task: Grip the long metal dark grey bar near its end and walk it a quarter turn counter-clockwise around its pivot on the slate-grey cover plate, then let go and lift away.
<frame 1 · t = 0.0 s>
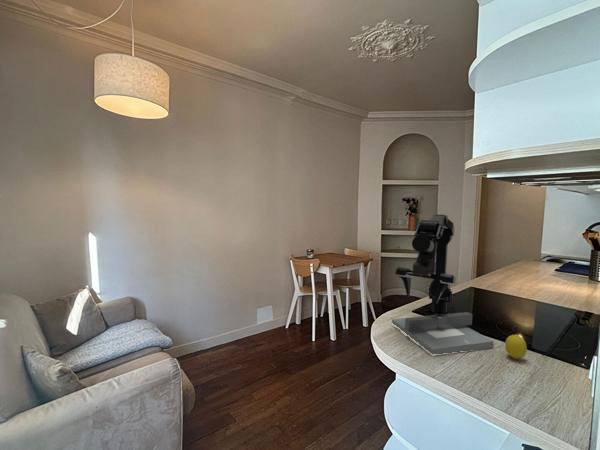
hand: (421, 300, 102), 15 cm above the worktop, tool pointing down, fingers open, 9 cm apart
dark grey bar: (439, 321, 109), point 5 cm above the worktop, hinge at 0.0°
cover plate: (438, 335, 110), on the worktop
lemon: (514, 359, 95), on the worktop
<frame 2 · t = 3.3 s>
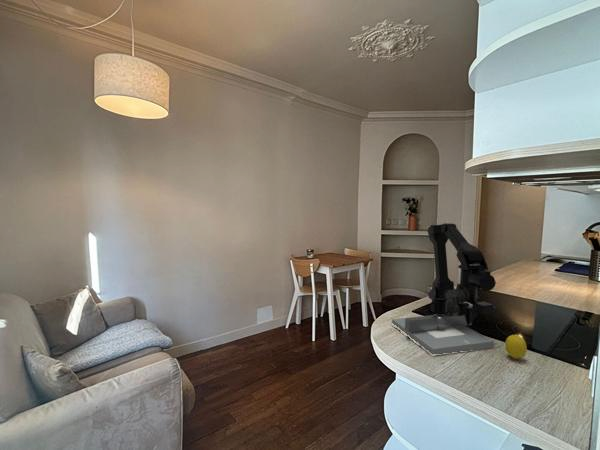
hand: (466, 323, 112), 4 cm above the worktop, tool pointing down, fingers closed on dark grey bar, 2 cm apart
dark grey bar: (439, 321, 109), point 5 cm above the worktop, hinge at 0.0°, touching gripper
everything else where it was.
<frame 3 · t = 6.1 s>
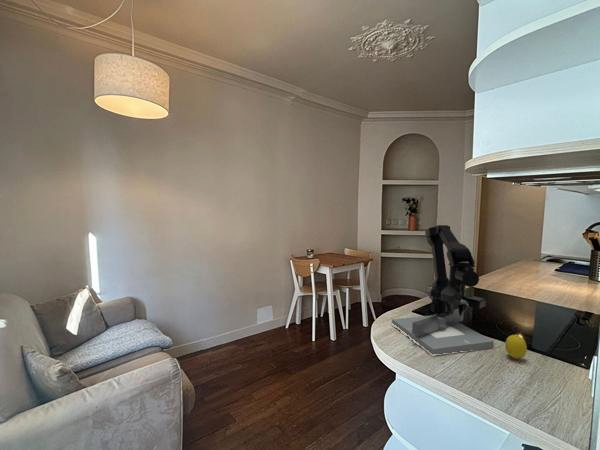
hand: (455, 318, 116), 4 cm above the worktop, tool pointing down, fingers closed
dark grey bar: (439, 321, 109), point 5 cm above the worktop, hinge at 16.8°, touching gripper
everything else where it was.
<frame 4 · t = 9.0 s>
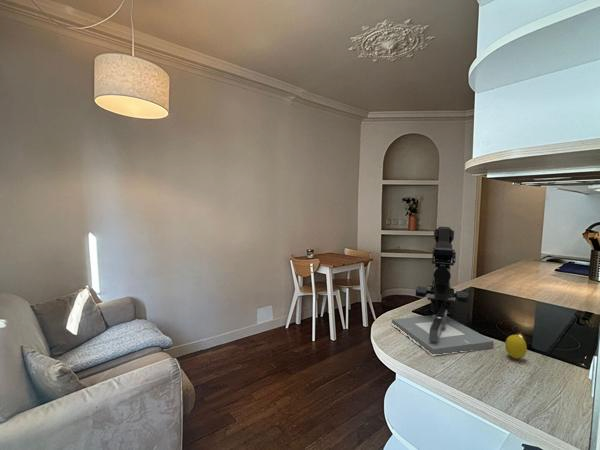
hand: (440, 314, 120), 4 cm above the worktop, tool pointing down, fingers open, 3 cm apart
dark grey bar: (439, 321, 109), point 5 cm above the worktop, hinge at 43.2°, touching gripper
everything else where it was.
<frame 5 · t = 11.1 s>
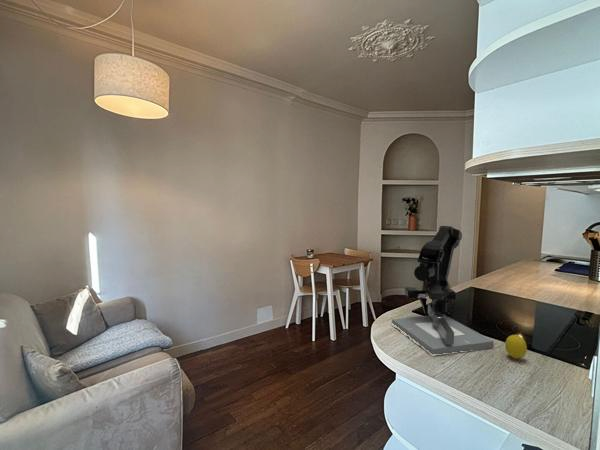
hand: (429, 313, 121), 4 cm above the worktop, tool pointing down, fingers open, 3 cm apart
dark grey bar: (439, 321, 109), point 5 cm above the worktop, hinge at 63.9°, touching gripper
everything else where it was.
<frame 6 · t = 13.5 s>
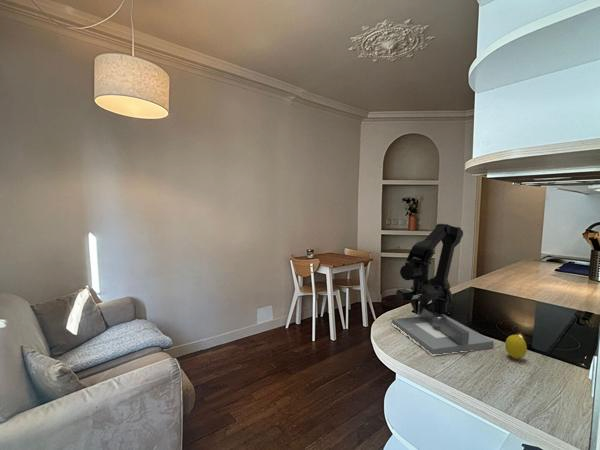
hand: (419, 313, 121), 4 cm above the worktop, tool pointing down, fingers closed
dark grey bar: (439, 321, 109), point 6 cm above the worktop, hinge at 85.2°, touching gripper
everything else where it was.
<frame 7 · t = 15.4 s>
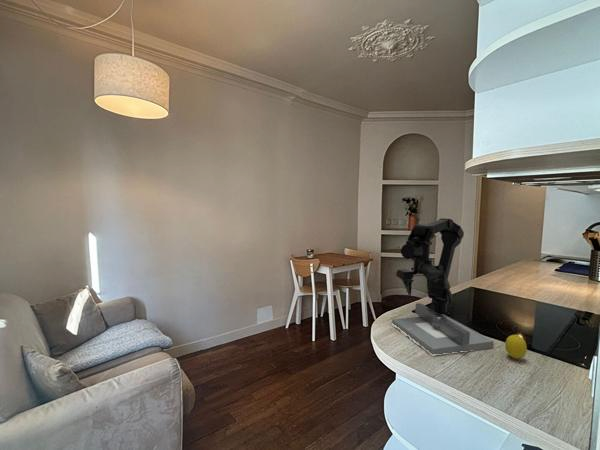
hand: (419, 294, 120), 12 cm above the worktop, tool pointing down, fingers open, 9 cm apart
dark grey bar: (439, 321, 109), point 5 cm above the worktop, hinge at 86.5°
everything else where it was.
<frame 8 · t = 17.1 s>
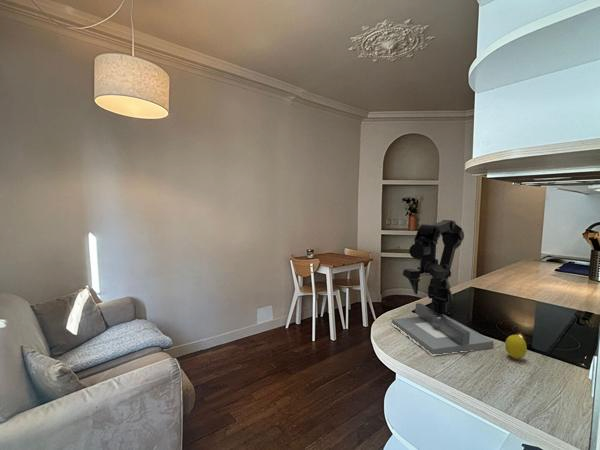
hand: (425, 293, 121), 12 cm above the worktop, tool pointing down, fingers open, 9 cm apart
nothing on the worktop moved.
at the end: dark grey bar at +86° (first picture: +0°) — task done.
